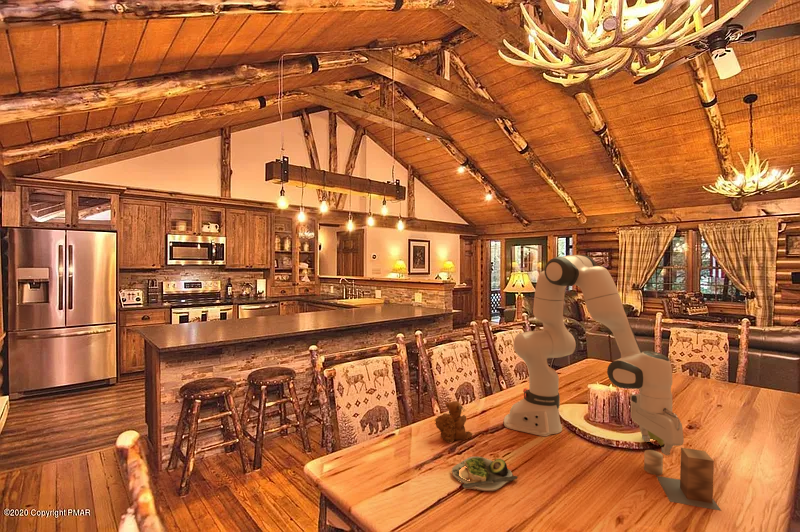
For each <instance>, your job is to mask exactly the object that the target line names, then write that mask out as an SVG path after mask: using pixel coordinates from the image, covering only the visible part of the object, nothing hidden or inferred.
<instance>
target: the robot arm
mask: <svg viewBox="0 0 800 532" xmlns="http://www.w3.org/2000/svg"><path fill="white" fill-rule="evenodd" d="M573 286H577V287H578V288H579V289H580V290H581V292H582V295H583V299H584V303H585V305H586V306H585V307H586V309H587V311H588V313H589V315H590V317H591V318H592V319H593V320H594V321H595V322H597V323H600V324H601V325H603V326H605V327H606V328H608V329H609V331H611V333H612V334H613V337H614V340H615V342H616V344H617V348H618V350H619V352H620V358H618V359H615V360H613V361H611V362H610V363H609V364H608V366H607V370H606V371H607V377H608V380H609V381H610V382H611V384H612V385H614V386H616V387H618V388H620V389H626V390H627V389H631V390H632V389H634V390H636V389H637V390H639V393H638V394H637V393H635V394H634V393H633V394H630V395H629V398H630V399H629V400H630V401H631V402H630V418H631V420H632V422H634V423H635V424H637V425H638V427H639V430H640V433H641V439H642V440H643V441H644V442H645V443H647V441H648V442H649V441H650V436H649V435H648V431H649V432H651V433H653V434H654V435H656V436H657V437H659V438H661V439H662V440H664V445H663V446H660V447H661V452H660V453H661V454H662V455H665V456H670V455H671V450H672V448H673V447H674V446H676V447H677V446H678V447H679V446H682V445H683V444H684V442H685V440H684V439H685V438H684V430H683V428H684V427H683V424H682V422H681V420H680V418H679V417H678V415H677V413H675V412H673V394H672V385H673V368H672V367H673V366H672V363H671V360H670V358H669V357H667V356H666V355H664V354H662V353H660V352H657V351H651V350H643V351H642V349H641V347H640V345H639V342H638V340H637V338H636V337H637V336H636V335H635V333H634V330H633V328H632V326H631V324H630V320H629V319H628V316H627V314H626V312H625V309H624V305H623V303H622V300H621V299H622V298H621V296H620V293H619V290H618V287H617V285H616V283H615V281H614V279H613V277H612V275H611V273H610V272H609V270H608V269H607V268H606V267H605V266H601V265H600V266H599V265H597V262H596V261H595V260H594V259H593V258H592V257H590V256H588V255H584V254H569V255H568V254H567V255H564V256H555V257H553V258H551V259H549V260H548V261H547V263H546V264H545V265H544V270H542V271H541V272H540V273H539V274H538V278H537V281H536V284H535V288H534V296H533V297H534V298H533V307H532V308H533V309H532V312H533V313H532V314H533V316H534V318H535V319H536V320H537V321H539V322H540V323H542V327H543V328H542V330H528V331H527V330H526V331H524V332H521V333H517V334H516V335H515V337H514V339H513V349H514V352H515V353H516V355H517V356H518V357H519V358H520V359H522V360H523V362H524V363H525V365H526V367H527V370H528V377H529V380H528V381H529V389H528V387H524V388H523V389H522V391H523V398H522V399H521V400H519V401H516V402H515V403H513V404H512V405H511V408H510V411H509V413H508V414H506V415H505V416H504V417H503V425H504V427H505V428H507V429H511V430H514V431H517V432H518V431H519V432H522V433H527V434H531V435H536V436H540V437H548V436H549V435H553V434H554V435H555V434H559V433H561V432H562V431H563V427H562V424H561V423H562V422H561V419H560V410H559V409H560V403H561V402H560V401H561V399H560V397H561V395H560V393H559V379H560V377H559V374H558V372H557V371H556V370H555V369H554V368H552V367H550V366H549V365H548V359H556V358H558V359H559V358H563V357H567V356H569V355H570V356H571V355H573V353H575V351H576V345H577V344H576V340H575V337H574V335H573V334H572V333H571V332H570V331H569V330H568V329H567V327H566V325H565V322H564V305H565V304H564V303H565V295H566V294H565V293H566V288H567V287H573ZM647 430H648V431H647Z"/></svg>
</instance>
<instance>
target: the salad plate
mask: <svg viewBox="0 0 800 532" xmlns="http://www.w3.org/2000/svg"><path fill="white" fill-rule="evenodd" d="M464 466H466V467H467V468H468V469H467V468H466V469H467V475H468V479H469V478H470V481H467V480H465V479H463V478H464V477H463V478H461V477H460V476H459V470H460V469H461V468H462V467H464ZM451 475H452V476H453V478H455V479H456V481H458V480H459V481H461V482H462V483H464V484H462V483H461V484H462V487H463V489H467V490H470V489H472V490H475V489H477V491H483V492H485V491H486V492H493V491H494V492H495V491H497V490H499V489H500V488H502V487H503V486H505V485H507V484H509V483H510V482H512V481H515V480H517V479H518V478H519V477H518V475H514V474H513V472H512V470H511V469H509V468H508V465H507V463H506V461H505V460H504V459H502V458H497V459H494V460H493V461H492V460H491V459H489V458H487V457H483V456H470V457H467V458H465V459H463V460H462V461H461V462H459V463H457V464H455V465H454V466H453V467H452V468H451ZM459 481H458V482H459Z"/></svg>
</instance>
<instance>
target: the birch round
mask: <svg viewBox="0 0 800 532" xmlns="http://www.w3.org/2000/svg"><path fill="white" fill-rule="evenodd" d="M643 457H644V461H643V464H644V465H643V468H644V469H643V470H644V472H646V473H648V474H650V475H654V476H661V475H663V472H664V470H663V468H664V454H663V453H662V452H659V451H656V450H653V449H646V450H644V456H643Z"/></svg>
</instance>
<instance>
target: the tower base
mask: <svg viewBox="0 0 800 532" xmlns="http://www.w3.org/2000/svg"><path fill="white" fill-rule="evenodd" d="M679 471H680V474H679V477H680V478H679V480H680V488H681V490H682V491H683V493H684V495H685V496H686V498H687V499H690V500H696V501H702V502H707V503H713V500H714V481H713V482H709V481H703V480H697V479H691V478H687V476H686V475H685V473H684V472H683V470H682V469H681V467H680V470H679Z"/></svg>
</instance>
